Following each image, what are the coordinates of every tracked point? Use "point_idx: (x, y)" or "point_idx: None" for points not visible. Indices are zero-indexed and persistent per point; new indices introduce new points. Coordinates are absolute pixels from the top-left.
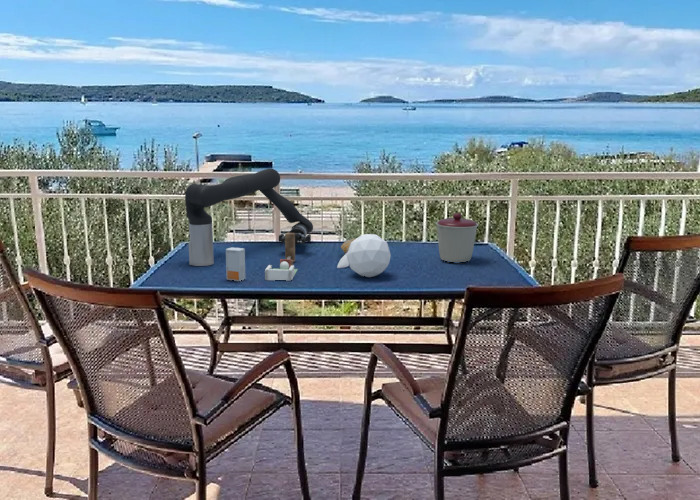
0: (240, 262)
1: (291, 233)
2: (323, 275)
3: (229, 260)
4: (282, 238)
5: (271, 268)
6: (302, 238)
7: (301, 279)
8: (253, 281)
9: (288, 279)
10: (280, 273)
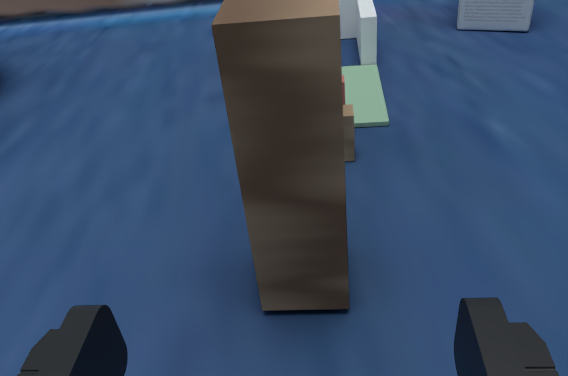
0: None
1: (259, 2)
2: (115, 90)
3: None
4: (496, 300)
5: (360, 30)
6: (81, 317)
7: None
8: (410, 22)
9: None
10: None
